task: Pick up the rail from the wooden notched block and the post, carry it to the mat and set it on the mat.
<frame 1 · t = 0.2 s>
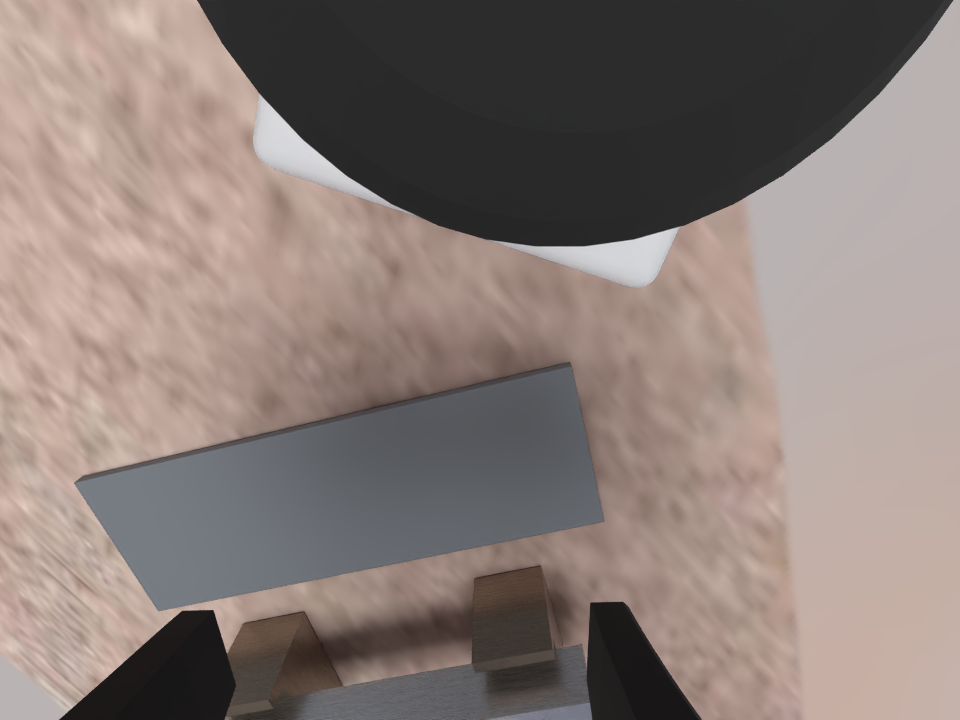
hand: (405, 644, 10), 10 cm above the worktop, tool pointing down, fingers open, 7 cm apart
container: (508, 74, 15), on the worktop
post b: (294, 655, 24), on the worktop
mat: (344, 496, 20), on the worktop
rail: (393, 700, 20), point 3 cm above the worktop, touching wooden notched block, post b
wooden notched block: (520, 614, 23), on the worktop
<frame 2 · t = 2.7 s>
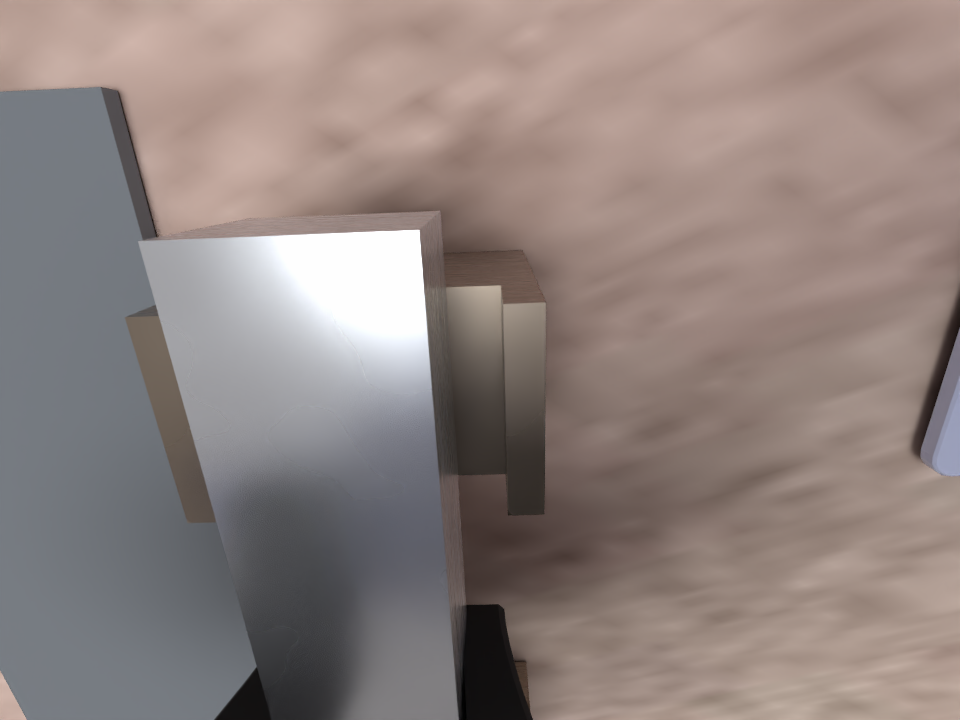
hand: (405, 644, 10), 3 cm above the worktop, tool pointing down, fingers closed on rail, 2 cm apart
post b: (437, 701, 14), on the worktop
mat: (99, 553, 12), on the worktop
rail: (402, 659, 9), point 3 cm above the worktop, touching gripper, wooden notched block, post b
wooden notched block: (400, 329, 10), on the worktop
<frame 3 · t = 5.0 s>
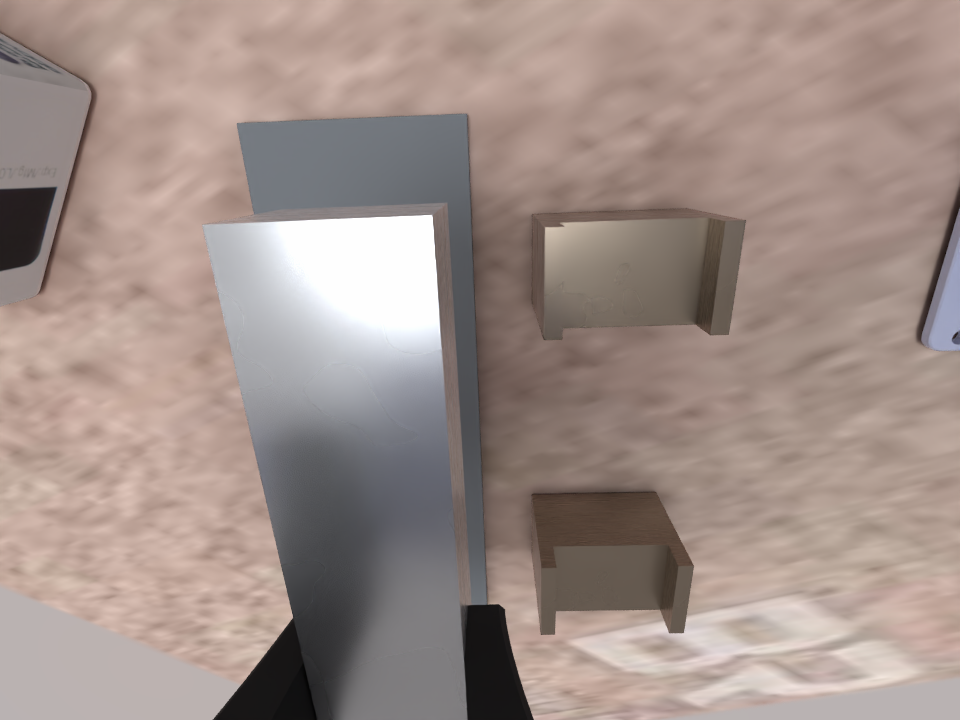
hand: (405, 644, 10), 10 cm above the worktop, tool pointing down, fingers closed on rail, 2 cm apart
post b: (591, 523, 21), on the worktop
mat: (387, 409, 19), on the worktop
rail: (411, 610, 10), point 9 cm above the worktop, touching gripper
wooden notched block: (606, 257, 17), on the worktop
when the fingers open (2 cm above the worktop, at t = 7.5 s): rail stays where it is, resting on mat.
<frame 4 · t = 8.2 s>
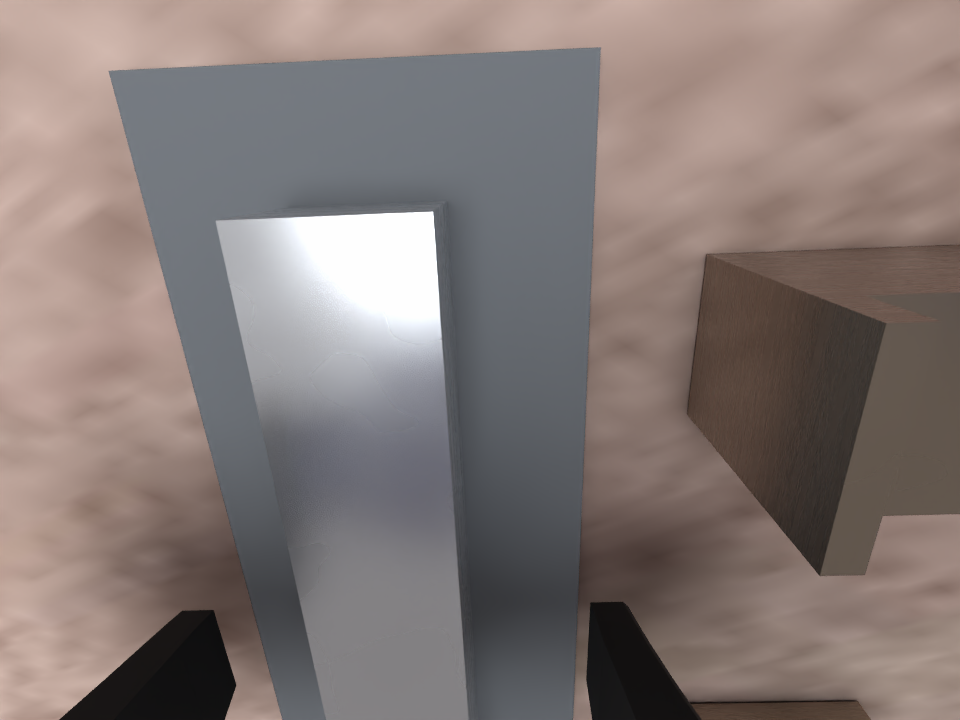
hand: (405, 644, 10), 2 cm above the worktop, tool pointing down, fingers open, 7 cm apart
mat: (415, 584, 11), on the worktop
rail: (412, 596, 11), resting on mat
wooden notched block: (839, 334, 9), on the worktop
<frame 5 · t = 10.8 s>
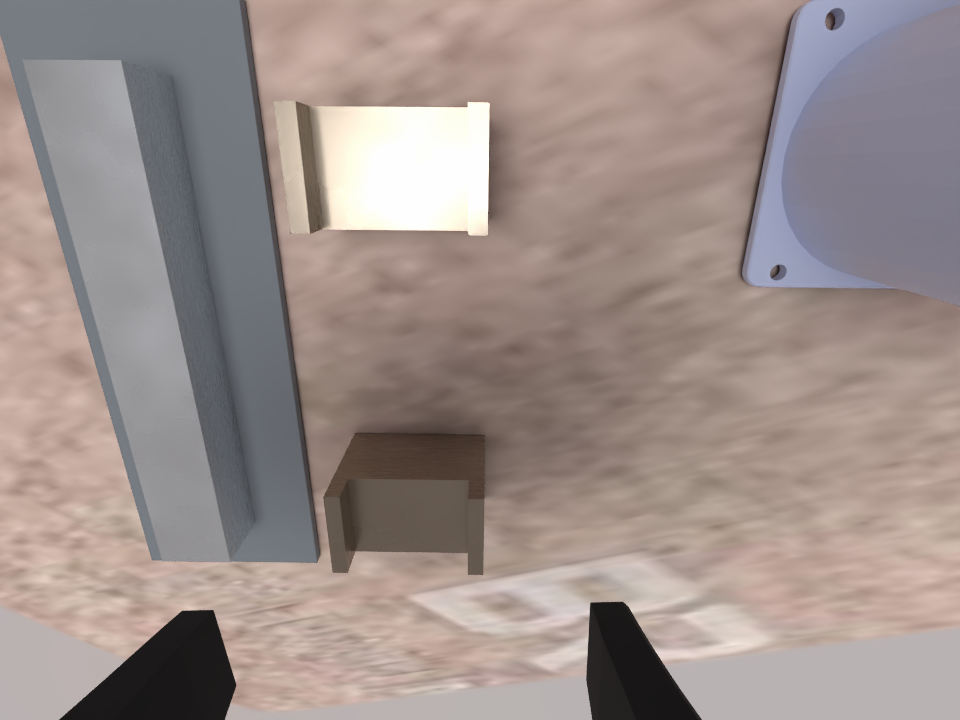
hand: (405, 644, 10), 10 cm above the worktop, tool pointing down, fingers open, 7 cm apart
post b: (421, 467, 20), on the worktop
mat: (192, 333, 18), on the worktop
rail: (185, 335, 17), resting on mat
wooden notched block: (409, 170, 16), on the worktop
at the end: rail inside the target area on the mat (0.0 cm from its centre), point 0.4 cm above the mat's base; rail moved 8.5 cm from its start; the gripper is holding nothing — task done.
